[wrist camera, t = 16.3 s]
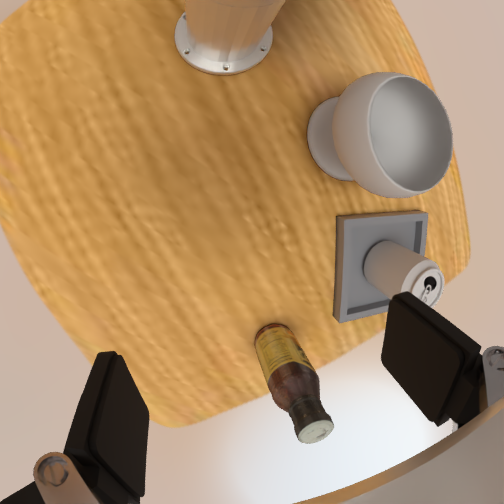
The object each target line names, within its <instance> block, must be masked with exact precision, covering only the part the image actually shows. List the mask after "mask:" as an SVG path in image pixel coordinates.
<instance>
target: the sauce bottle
mask: <svg viewBox="0 0 504 504" xmlns="http://www.w3.org/2000/svg"><path fill="white" fill-rule="evenodd" d="M255 348H256V353H257V356H258V359H259V362H260V365H261V368H262V371H263V373H264V377H265V379H266V382H267V385H268V388H269V390H270V392H271V394H272V397H273V400H274V402H275V403H276V404H277V406H278V407H279V408H281V409H283V410H284V411H286V412H288V413H289V416H290V417H291V418H292V421H293V423H294V430H295V433H296V435H297V438H298V440H299V441H300V442H302V443H307V444H308V443H309V444H310V443H315V442H318V441H321V440H322V439H324V438H326V437H327V436H328V435H329V434H330V433H331V432H332V430H333V428H334V424H333V422H332V419H331V417H330V416H329V415H328V414H327V413H326V412H325V410H324V408H323V406H322V404H321V401H320V389H319V377H318V375H317V373H316V372H315V370H314V368H313V367H312V365H311V363H310V361H309V360H308V358H307V356H306V355H305V353H304V351H303V350H302V348H301V346H300V344H299V343H298V341H297V339H296V338H295V336H294V334H293V333H292V332H291V331H290V330H289V329H288V328H287V327H285V326H283V325H277V324H274V325H269V326H267V327H265V328H263V329H262V330H261V331H259V332H258V334H257V336H256V340H255Z"/></svg>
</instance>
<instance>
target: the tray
mask: <svg viewBox="0 0 504 504" xmlns="http://www.w3.org/2000/svg"><path fill="white" fill-rule="evenodd" d="M427 223H428V213H426V212H423V211H420V210H412V211H397V212H383V213H370V214H357V215H344V216H336V261H335V286H334V304H333V316H334V318H335V319H336V320H337V321H338V322H339V323H343V322H347V321H351V320H356V319H360V318H364V317H368V316H372V315H376V314H380V313H383V312H387V311H388V306H389V302H390V300H391V299H390V298H388V297H387V296H386V295H384V294H383V293H382V292H380V291H379V290H378V289H376V288H375V287H374V286H373V285H371V284H370V283H369V282H368V281H367V279H366V277H365V274H364V264H365V260H366V258H367V255H368V253H369V252H370V251H371V249H372V248H373V247H374V246H375V245H377V244H378V243H380V242H382V241H392V242H394V243H397V244H399V245H401V246H403V247H405V248H407V249H409V250H411V251H413V252H416V253H418V254H420V255H422V256H424V255H425V246H426V235H427Z"/></svg>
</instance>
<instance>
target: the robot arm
mask: <svg viewBox="0 0 504 504" xmlns="http://www.w3.org/2000/svg"><path fill="white" fill-rule="evenodd" d="M285 1H286V0H185V12H184V13H183V14H182V16H181V17H180V19H179V20H178V22H177V25H176V28H175V35H174V36H175V43H176V47H177V50H178V52H179V54H180V55H181V57H182V58H183V59H184V60H185V61H186V62H187V63H188V64H190V65H191V66H192V67H194V68H196V69H198V70H200V71H202V72H206V73H209V74H215V75H232V74H238V73H241V72H244V71H247V70H249V69H251V68H253V67H255V66H256V65H257V64H258V63H260V62H261V61H262V60H263V58H264V57H265V56H266V55H267V53H268V52H269V50H270V47H271V45H272V40H273V30H272V26H271V23H272V22H273V20H274V18H275V17H276V15H277V14H278V12H279V10H280V9H281V7H282V6H283V4H284V3H285ZM185 19H186V20H185ZM261 50H263V51H264V52H263V51H261ZM187 52H188V53H189V54H185V53H187ZM224 68H227V69H228V70H227V71H226V70H224ZM480 350H481V346H480V345H479V344H478V343H476V342H475V341H474V340H473V339H471V338H470V337H469V336H467V335H466V334H465V333H464V332H462V331H461V330H460V329H459V328H457V327H456V326H455V325H453V324H452V323H451V322H450V321H448V320H447V319H445V318H444V317H443V316H441V315H440V314H439V313H438V312H436V311H435V310H434V309H432V308H431V307H430V306H428V305H427V304H425V303H424V302H423V301H421V300H420V299H419V298H417V297H416V296H414V295H413V294H412V293H410V292H408V291H405V292H402V293H399V294H395V295H394V296H393V297H392V300H390V302H389V306H388V314H387V322H386V329H385V337H384V342H383V348H382V354H381V361H382V364H383V365H384V367H385V368H386V369H387V370H388V371H389V373H390V374H391V375H392V376H393V377H394V379H395V380H396V381H397V382H398V383H399V385H400V386H401V387H402V388H403V389H404V391H405V392H406V393H407V394H408V395H409V396H410V398H411V399H412V400H413V402H414V403H415V404H416V405H417V406H418V408H419V409H420V410H421V411H422V413H423V414H424V415H425V416H426V417H427V419H428V420H429V421H431V422H434V423H435V424H436V425H437V426H438V427H439V426H440V425H442V424H443V423H445V422H446V421H448V420H449V418H451V419H452V420H453V430H452V434H450V435H449V436H447V437H446V438H444V439H443V440H441V441H440V442H438V443H436V444H434V445H433V446H431V447H429V448H427V449H426V450H424V451H422V452H421V453H419V454H417V455H415V456H413V457H411V458H409V459H408V460H406V461H404V462H402V463H400V464H398V465H396V466H394V467H392V468H390V469H388V470H385V471H384V472H381V473H379V474H377V475H374V476H372V477H370V478H367V479H365V480H363V481H360V482H358V483H355V484H353V485H350V486H348V487H345V488H342V489H339V490H336V491H334V492H331V493H328V494H325V495H322V496H318V497H315V498H312V499H308V500H305V501H301V502H297V503H294V504H504V347H499V346H492V347H489V348H487V349H486V350H485V351H484V353H483V355H481V354H480V353H479V352H480ZM148 427H149V411H148V408H147V406H146V404H145V402H144V400H143V398H142V396H141V394H140V392H139V390H138V388H137V386H136V384H135V382H134V380H133V378H132V376H131V374H130V372H129V370H128V368H127V365H126V363H125V361H124V359H123V357H122V356H121V355H117V353H116V352H115V351H109V352H100V353H98V354H97V357H96V359H95V362H94V364H93V367H92V369H91V372H90V375H89V377H88V380H87V383H86V385H85V388H84V391H83V393H82V395H81V398H80V401H79V403H78V406H77V409H76V412H75V415H74V419H73V422H72V425H71V428H70V432H69V434H68V438H67V441H66V445H65V449H64V452H63V453H59V452H50V453H47V454H45V455H43V456H42V457H41V458H39V460H38V461H37V462H36V464H35V467H34V471H33V476H34V480H35V481H34V482H32V483H30V484H29V485H27V486H26V487H24V488H22V489H20V490H19V491H17V492H15V493H14V494H12V495H10V496H9V497H7V498H5V499H3V500H2V501H1V502H0V504H140V497H143V496H144V494H145V472H146V453H147V439H148Z"/></svg>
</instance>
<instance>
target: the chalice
mask: <svg viewBox="0 0 504 504" xmlns="http://www.w3.org/2000/svg"><path fill="white" fill-rule="evenodd" d="M307 140H308V146H309V150H310V152H311V154H312V157H313V159H314V160H315V162H316V163H317V165H318V166H319V167H320V168H321V169H322V170H323V171H324V172H325V173H326V174H328V175H330V176H331V177H333V178H335V179H338V180H341V181H354V180H355V181H356V182H357V183H358V184H359V185H360V186H361V187H363V188H364V189H366V190H368V191H369V192H371V193H373V194H376V195H380V196H383V197H387V198H408V197H412V196H415V195H419V194H422V193H425V192H426V191H428V190H430V189H431V188H433V187H434V186H435V185H437V184H438V183H439V182H440V180H441V179H442V178H443V177H444V175H445V174H446V172H447V170H448V168H449V165H450V161H451V158H452V152H453V133H452V128H451V123H450V120H449V117H448V114H447V112H446V109H445V107H444V106H443V104H442V102H441V100H440V99H439V98H438V96H437V95H436V94H435V93H434V91H432V90H431V89H430V88H429V87H428V86H427V85H426V84H424V83H422V82H421V81H419V80H417V79H415V78H413V77H411V76H408V75H404V74H401V73H395V72H377V73H372V74H368V75H365V76H362V77H360V78H358V79H357V80H355V81H354V82H352V83H351V84H349V85H348V86H347V88H346V89H345V90H344V91H343V93H342V94H341V95H340V97H333V98H330V99H327V100H325V101H324V102H322V103H321V104H319V106H318V107H317V108H316V109H315V110H314V111H313V113H312V115H311V117H310V119H309V123H308V127H307Z"/></svg>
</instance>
